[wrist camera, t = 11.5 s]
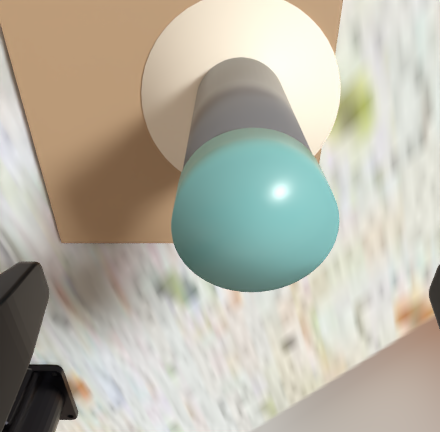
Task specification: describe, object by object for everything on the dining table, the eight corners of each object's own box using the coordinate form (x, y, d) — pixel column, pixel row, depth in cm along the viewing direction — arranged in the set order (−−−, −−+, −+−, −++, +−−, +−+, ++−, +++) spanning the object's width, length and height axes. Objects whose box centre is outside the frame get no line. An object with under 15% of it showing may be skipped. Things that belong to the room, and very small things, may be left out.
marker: (281, 145, 19) (326, 292, 11) (196, 145, 19) (176, 291, 11) (288, 55, 17) (353, 154, 9) (192, 56, 17) (164, 154, 9)
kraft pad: (314, 236, 23) (316, 244, 23) (65, 236, 23) (61, 243, 23) (370, -123, 14) (376, -126, 14) (-32, -120, 14) (-43, -123, 14)
